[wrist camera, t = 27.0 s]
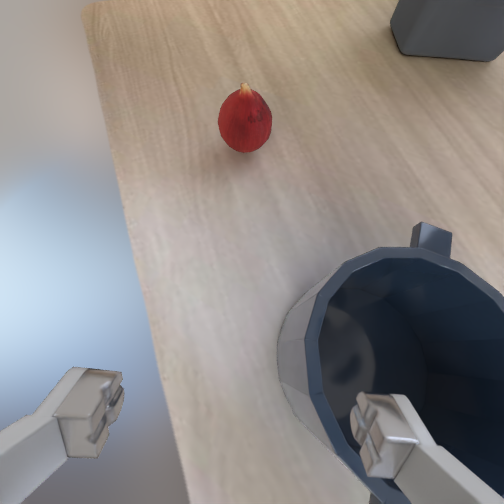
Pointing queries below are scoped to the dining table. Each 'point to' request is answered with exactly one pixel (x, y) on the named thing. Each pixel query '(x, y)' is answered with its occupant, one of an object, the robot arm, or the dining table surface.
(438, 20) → the storage bin
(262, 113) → the onion
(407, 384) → the pot
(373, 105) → the dining table surface
